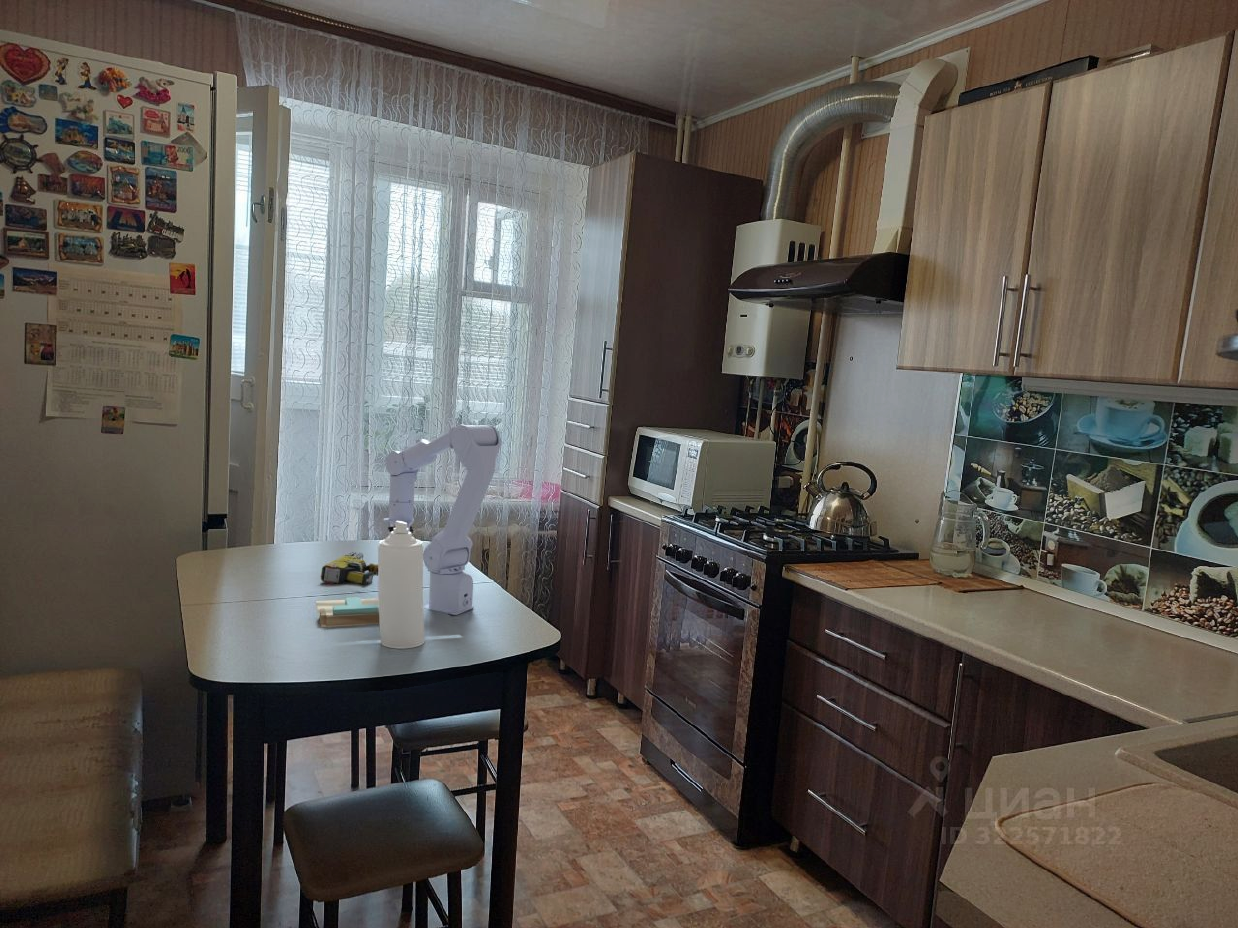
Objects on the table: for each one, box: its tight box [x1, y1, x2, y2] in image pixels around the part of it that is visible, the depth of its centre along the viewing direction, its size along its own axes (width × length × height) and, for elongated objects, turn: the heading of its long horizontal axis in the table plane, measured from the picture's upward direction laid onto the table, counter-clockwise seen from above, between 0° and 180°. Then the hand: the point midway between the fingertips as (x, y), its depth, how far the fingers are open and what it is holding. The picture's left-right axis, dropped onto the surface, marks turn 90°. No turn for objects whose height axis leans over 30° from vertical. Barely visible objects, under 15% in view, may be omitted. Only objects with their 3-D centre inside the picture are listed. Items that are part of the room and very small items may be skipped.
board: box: [315, 597, 380, 628], centre depth 180 cm, size 20×14×3 cm
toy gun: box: [320, 551, 378, 586], centre depth 214 cm, size 5×24×15 cm
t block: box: [333, 596, 379, 615], centre depth 176 cm, size 9×9×3 cm
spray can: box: [377, 521, 426, 650], centre depth 161 cm, size 12×11×25 cm
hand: (399, 556), depth 197 cm, fingers closed
